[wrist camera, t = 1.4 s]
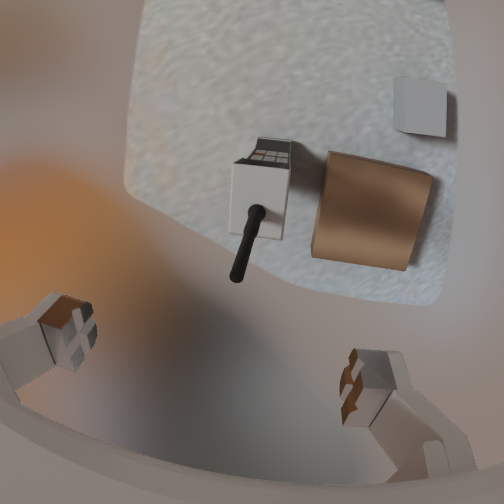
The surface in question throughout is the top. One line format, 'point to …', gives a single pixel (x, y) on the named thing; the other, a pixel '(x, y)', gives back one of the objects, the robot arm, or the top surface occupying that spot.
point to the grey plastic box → (420, 106)
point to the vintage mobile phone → (259, 197)
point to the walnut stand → (369, 211)
